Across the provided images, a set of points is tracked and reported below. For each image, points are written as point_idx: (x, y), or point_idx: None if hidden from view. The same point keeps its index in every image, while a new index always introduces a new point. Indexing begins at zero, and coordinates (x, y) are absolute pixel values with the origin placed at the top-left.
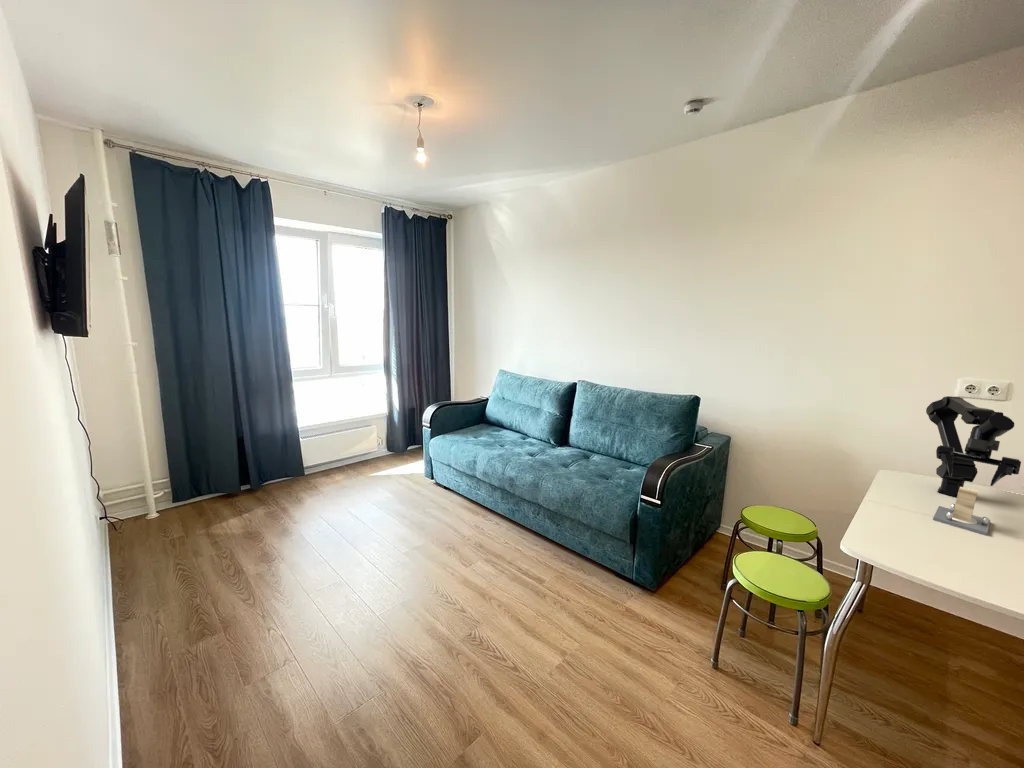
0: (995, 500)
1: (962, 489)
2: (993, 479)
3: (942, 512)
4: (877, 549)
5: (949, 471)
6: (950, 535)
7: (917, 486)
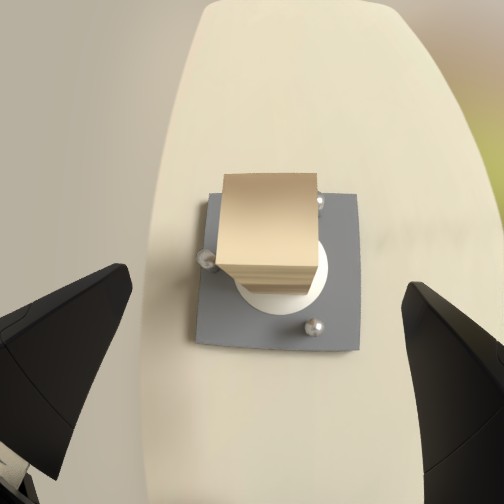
0: None
1: (299, 205)
2: (85, 285)
3: (341, 274)
4: (366, 11)
5: (444, 303)
6: (294, 125)
7: None
